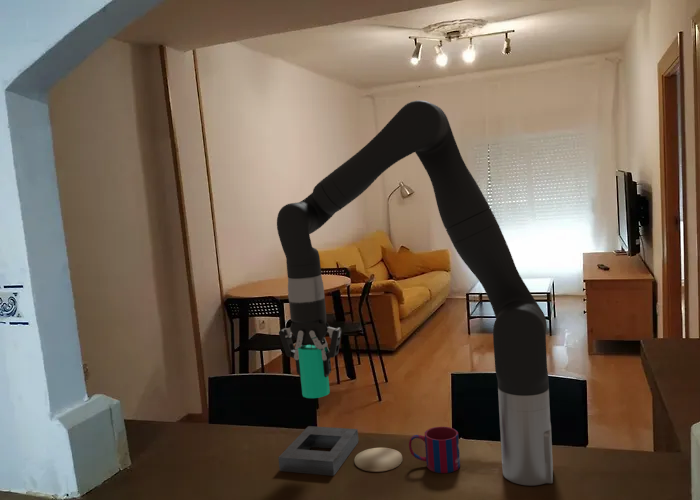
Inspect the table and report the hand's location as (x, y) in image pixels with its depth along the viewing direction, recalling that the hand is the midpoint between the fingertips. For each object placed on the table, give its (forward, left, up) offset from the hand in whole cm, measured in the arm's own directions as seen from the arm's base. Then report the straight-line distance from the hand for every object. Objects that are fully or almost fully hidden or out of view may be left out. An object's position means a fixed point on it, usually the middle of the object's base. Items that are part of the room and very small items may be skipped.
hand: (314, 375), depth 129 cm
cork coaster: (-13, 0, -18) cm, 22 cm away
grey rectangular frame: (0, 0, -18) cm, 18 cm away
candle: (0, 0, -4) cm, 4 cm away
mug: (-25, 0, -18) cm, 31 cm away
